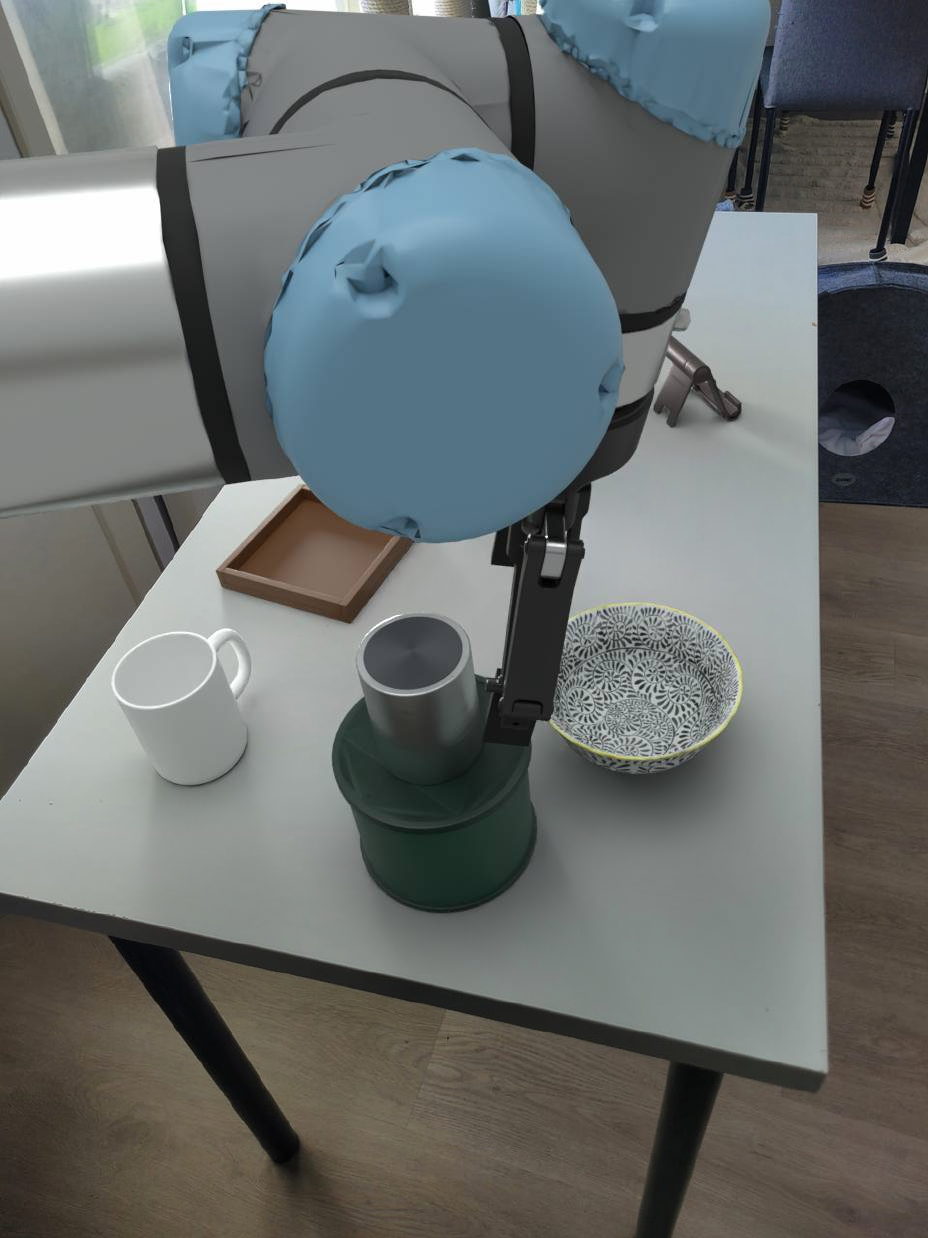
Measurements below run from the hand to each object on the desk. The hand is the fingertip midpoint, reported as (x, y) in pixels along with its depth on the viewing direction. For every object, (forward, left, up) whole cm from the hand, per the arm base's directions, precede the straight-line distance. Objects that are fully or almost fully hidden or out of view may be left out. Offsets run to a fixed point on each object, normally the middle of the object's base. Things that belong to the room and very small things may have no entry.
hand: (508, 644), depth 58 cm
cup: (-28, -2, -20) cm, 34 cm away
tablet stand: (-4, +60, -20) cm, 63 cm away
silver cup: (-5, -3, -8) cm, 10 cm away
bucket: (-5, -3, -19) cm, 20 cm away
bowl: (+5, +11, -20) cm, 23 cm away
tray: (-32, +22, -19) cm, 43 cm away
